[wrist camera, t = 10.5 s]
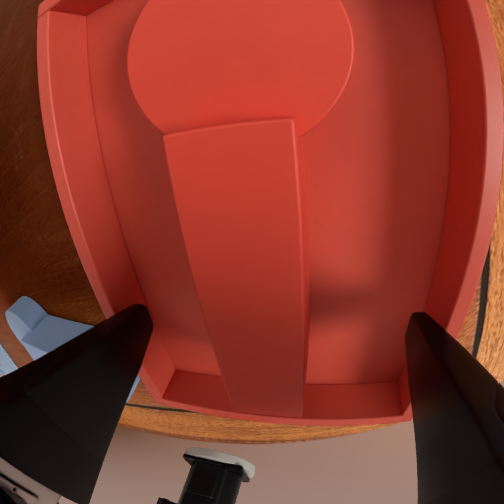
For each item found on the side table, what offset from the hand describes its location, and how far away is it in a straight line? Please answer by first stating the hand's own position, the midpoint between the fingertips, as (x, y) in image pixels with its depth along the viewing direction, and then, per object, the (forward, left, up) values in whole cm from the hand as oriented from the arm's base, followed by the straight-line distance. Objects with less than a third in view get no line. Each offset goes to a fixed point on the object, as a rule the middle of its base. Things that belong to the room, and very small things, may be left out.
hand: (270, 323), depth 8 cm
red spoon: (+3, 0, -1) cm, 4 cm away
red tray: (+3, 0, -2) cm, 3 cm away
